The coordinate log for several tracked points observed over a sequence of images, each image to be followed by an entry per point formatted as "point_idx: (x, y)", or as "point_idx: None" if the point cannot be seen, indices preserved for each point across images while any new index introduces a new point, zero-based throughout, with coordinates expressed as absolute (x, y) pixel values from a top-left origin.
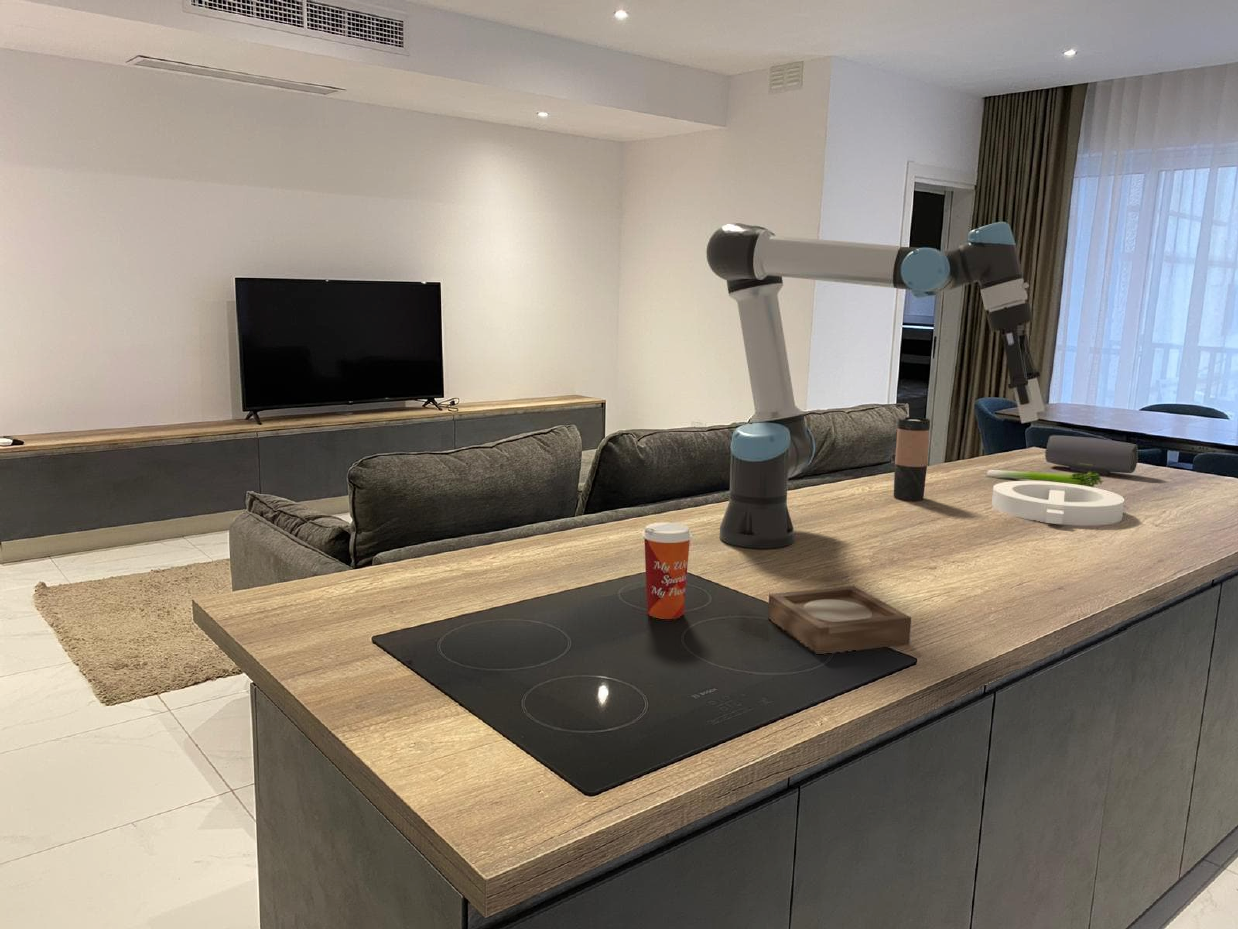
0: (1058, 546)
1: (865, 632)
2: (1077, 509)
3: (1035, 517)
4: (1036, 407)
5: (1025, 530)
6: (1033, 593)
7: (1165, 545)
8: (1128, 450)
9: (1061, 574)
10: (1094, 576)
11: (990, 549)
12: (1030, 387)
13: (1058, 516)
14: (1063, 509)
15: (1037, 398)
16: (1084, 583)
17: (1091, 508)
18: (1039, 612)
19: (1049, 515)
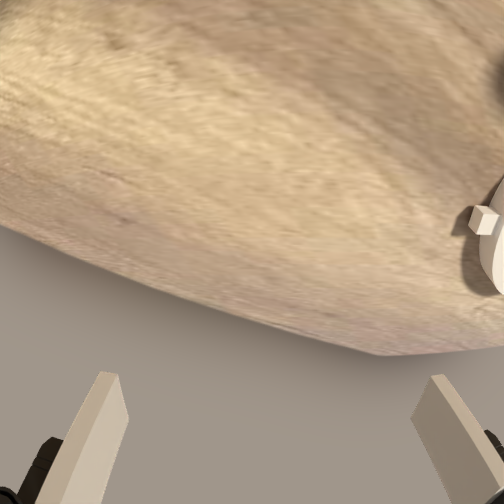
0: (364, 215)
1: None
2: (491, 252)
3: (498, 193)
4: (426, 414)
5: (446, 173)
6: (82, 194)
7: (401, 318)
8: None
9: (195, 219)
10: (211, 255)
11: (298, 112)
12: (465, 479)
13: (475, 226)
14: (494, 235)
15: (437, 448)
16: (168, 245)
17: (491, 267)
18: (27, 207)
19: (479, 215)
